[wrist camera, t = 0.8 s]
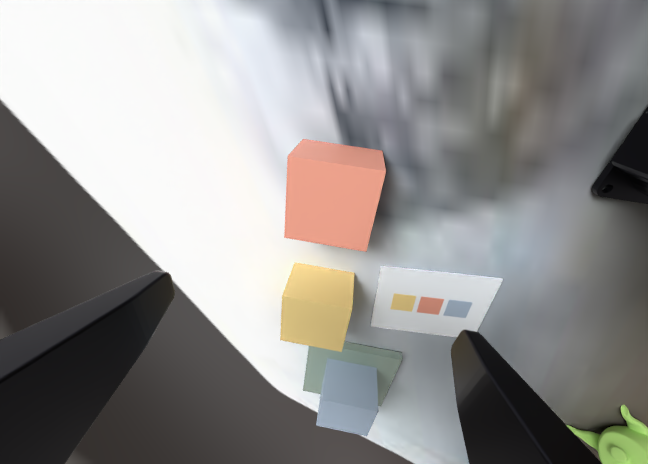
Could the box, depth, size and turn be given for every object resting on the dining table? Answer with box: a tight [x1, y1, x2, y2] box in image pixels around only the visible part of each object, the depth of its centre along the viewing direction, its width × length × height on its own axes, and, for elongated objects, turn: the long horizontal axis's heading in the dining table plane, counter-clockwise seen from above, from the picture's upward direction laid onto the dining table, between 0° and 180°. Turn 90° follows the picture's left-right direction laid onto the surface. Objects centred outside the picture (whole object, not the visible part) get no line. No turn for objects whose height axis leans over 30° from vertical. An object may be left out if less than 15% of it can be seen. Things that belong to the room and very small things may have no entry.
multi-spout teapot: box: [566, 405, 648, 464], centre depth 25 cm, size 6×5×6 cm
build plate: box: [303, 342, 402, 406], centre depth 28 cm, size 9×9×1 cm
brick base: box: [316, 358, 378, 436], centre depth 26 cm, size 5×5×4 cm
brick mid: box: [284, 139, 386, 252], centre depth 16 cm, size 5×5×4 cm
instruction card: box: [370, 265, 503, 337], centre depth 22 cm, size 9×7×1 cm
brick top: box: [280, 263, 354, 352], centre depth 22 cm, size 5×5×4 cm
